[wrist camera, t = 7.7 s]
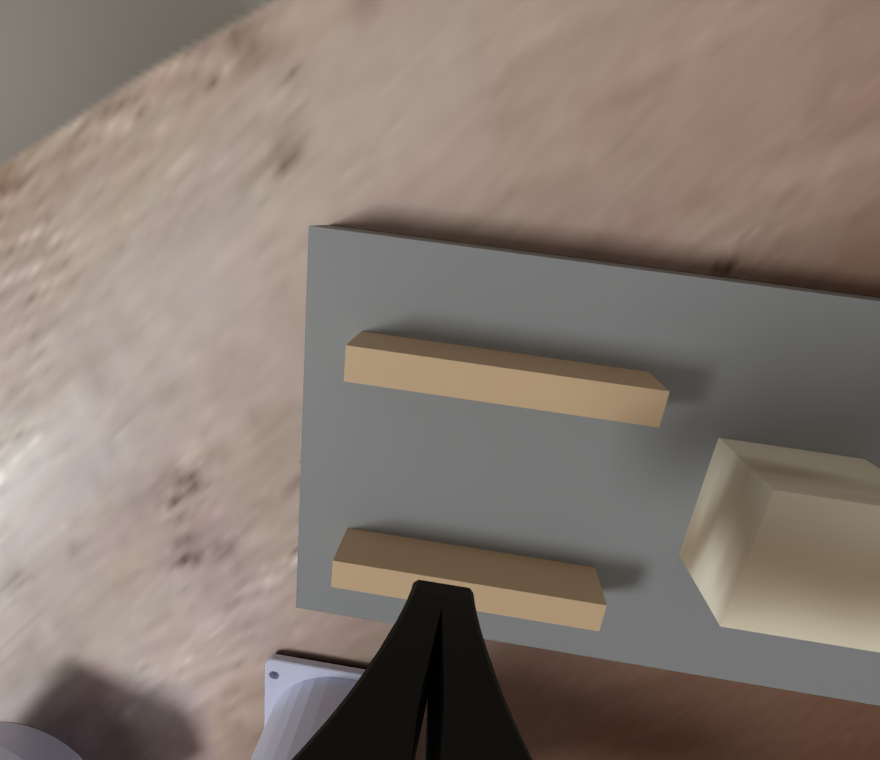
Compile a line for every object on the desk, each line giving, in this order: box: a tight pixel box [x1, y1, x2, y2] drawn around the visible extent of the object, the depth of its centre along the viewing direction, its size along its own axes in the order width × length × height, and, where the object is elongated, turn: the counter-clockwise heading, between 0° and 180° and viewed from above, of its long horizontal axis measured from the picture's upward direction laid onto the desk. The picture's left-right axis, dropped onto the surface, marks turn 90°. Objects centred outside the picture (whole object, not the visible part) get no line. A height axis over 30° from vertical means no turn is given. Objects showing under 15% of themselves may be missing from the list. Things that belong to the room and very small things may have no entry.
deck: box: [296, 225, 880, 706], centre depth 18 cm, size 16×33×4 cm, turn 83°
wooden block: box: [679, 438, 880, 653], centre depth 16 cm, size 5×5×4 cm
